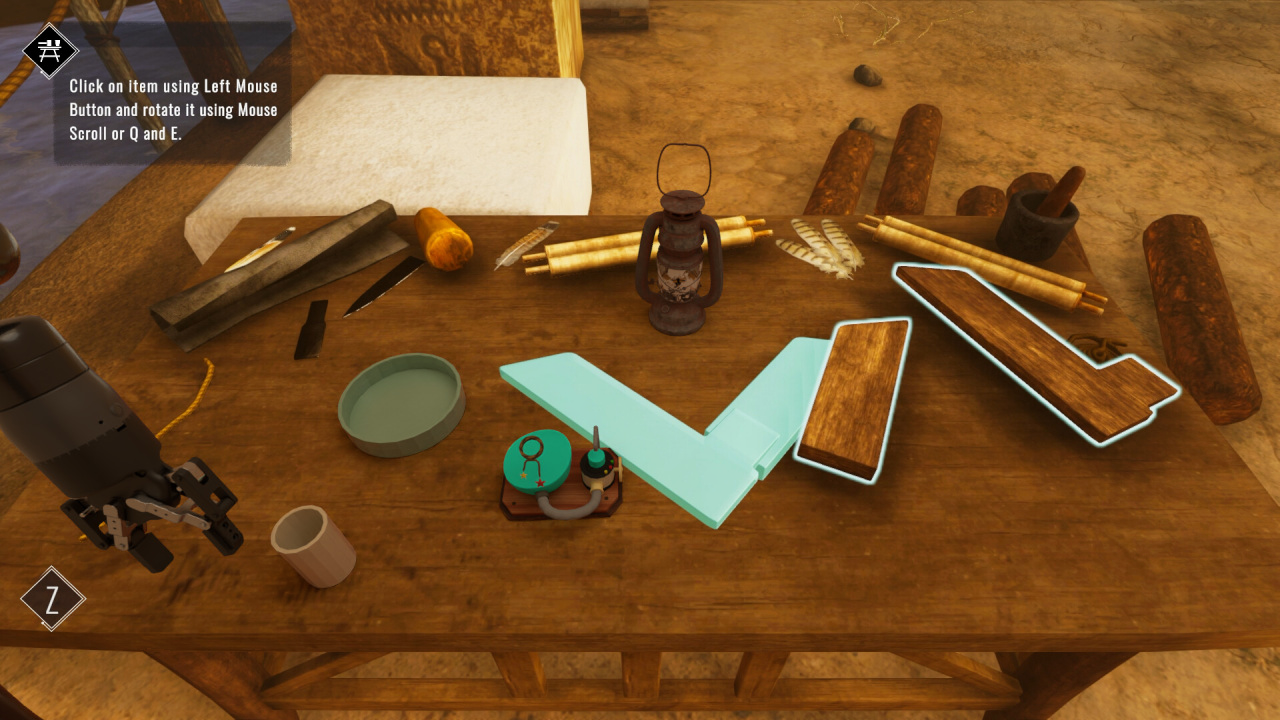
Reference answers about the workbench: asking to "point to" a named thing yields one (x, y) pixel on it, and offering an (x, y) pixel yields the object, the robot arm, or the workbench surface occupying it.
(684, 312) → the lantern
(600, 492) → the contraption on wooden base
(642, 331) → the workbench surface
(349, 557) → the cup
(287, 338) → the workbench surface
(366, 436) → the bowl
